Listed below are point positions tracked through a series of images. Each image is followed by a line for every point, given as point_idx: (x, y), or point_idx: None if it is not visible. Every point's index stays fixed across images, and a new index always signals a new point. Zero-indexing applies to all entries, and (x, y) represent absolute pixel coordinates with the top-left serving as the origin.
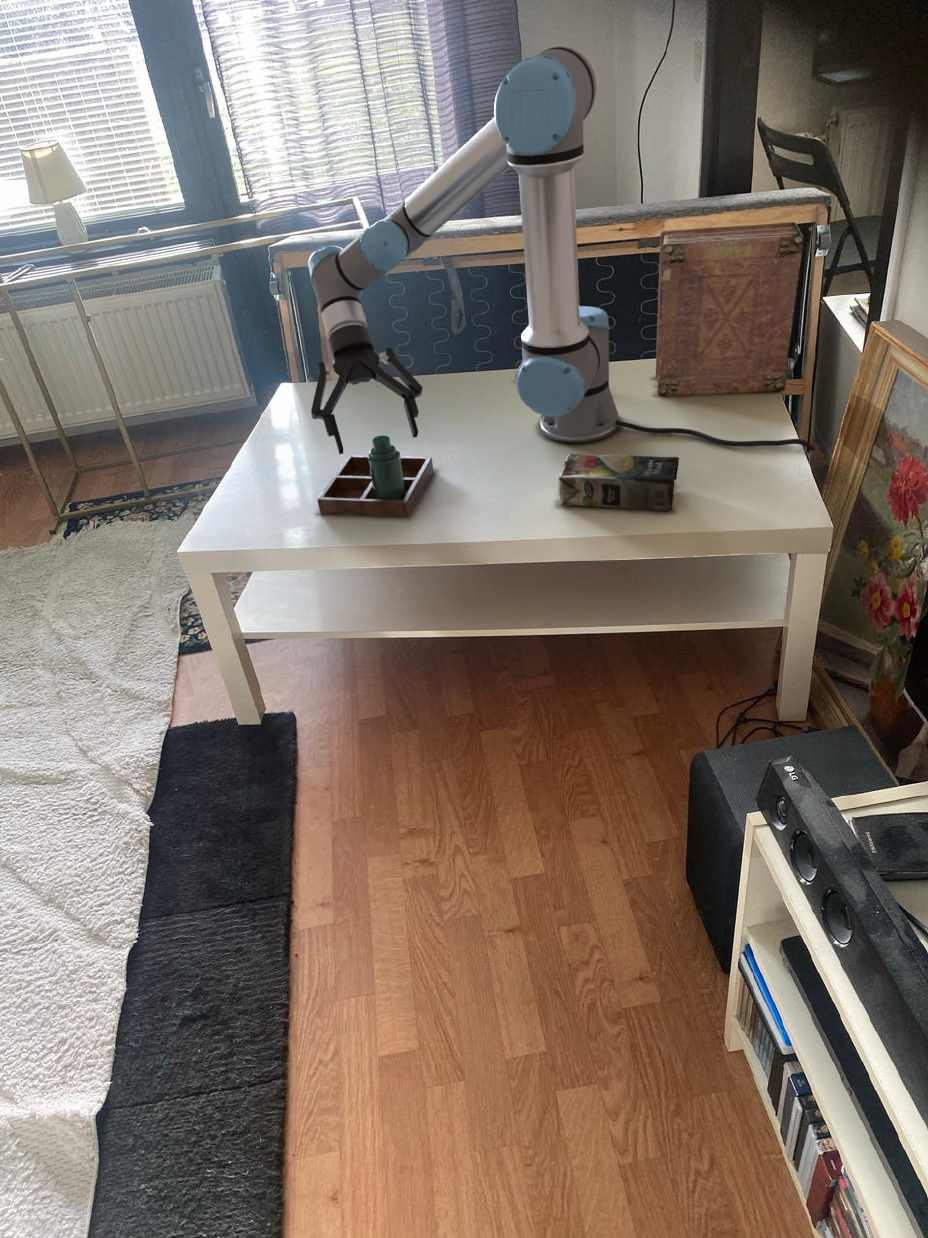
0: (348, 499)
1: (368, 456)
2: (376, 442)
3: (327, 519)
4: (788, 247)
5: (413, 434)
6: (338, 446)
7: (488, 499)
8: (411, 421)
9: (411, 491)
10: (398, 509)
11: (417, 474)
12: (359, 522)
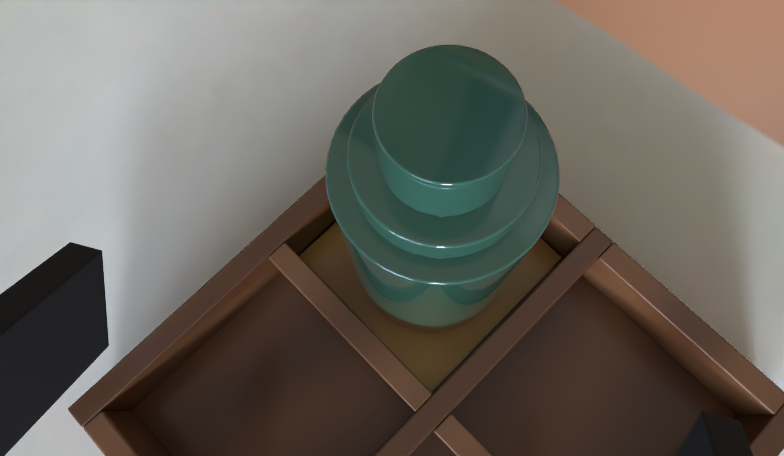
0: (655, 290)
1: (540, 226)
2: (506, 88)
3: (740, 345)
4: None
5: (103, 304)
6: (745, 441)
7: (105, 37)
8: (35, 302)
9: None
10: None
11: (196, 411)
12: (618, 221)
